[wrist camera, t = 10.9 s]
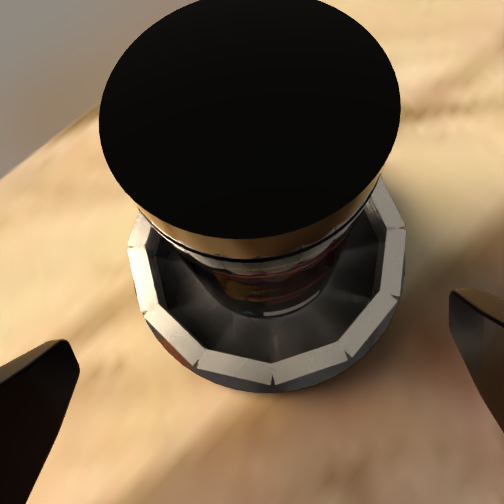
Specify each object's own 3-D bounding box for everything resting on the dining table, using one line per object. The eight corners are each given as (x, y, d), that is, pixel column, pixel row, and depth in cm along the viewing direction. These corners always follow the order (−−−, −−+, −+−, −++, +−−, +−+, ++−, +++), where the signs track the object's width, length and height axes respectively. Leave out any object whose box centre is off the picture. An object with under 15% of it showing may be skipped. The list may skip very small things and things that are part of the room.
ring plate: (385, 423, 16) (400, 429, 14) (103, 357, 18) (78, 354, 16) (411, 161, 20) (426, 135, 18) (178, 128, 22) (166, 101, 20)
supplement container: (291, 167, 20) (300, -49, 10) (365, 277, 18) (470, 142, 8) (173, 227, 19) (58, 61, 9) (235, 349, 17) (169, 303, 7)
